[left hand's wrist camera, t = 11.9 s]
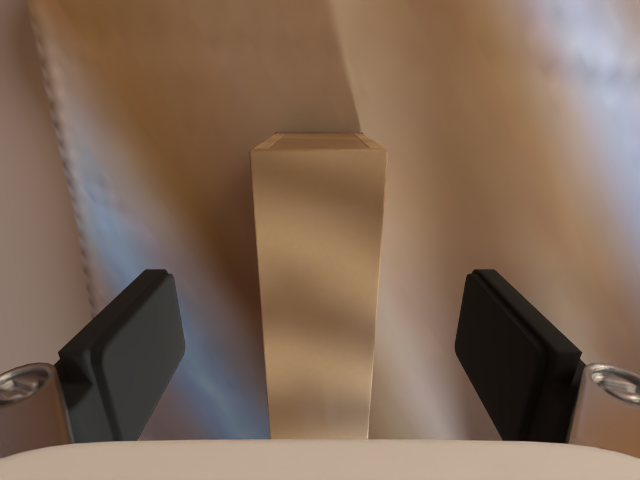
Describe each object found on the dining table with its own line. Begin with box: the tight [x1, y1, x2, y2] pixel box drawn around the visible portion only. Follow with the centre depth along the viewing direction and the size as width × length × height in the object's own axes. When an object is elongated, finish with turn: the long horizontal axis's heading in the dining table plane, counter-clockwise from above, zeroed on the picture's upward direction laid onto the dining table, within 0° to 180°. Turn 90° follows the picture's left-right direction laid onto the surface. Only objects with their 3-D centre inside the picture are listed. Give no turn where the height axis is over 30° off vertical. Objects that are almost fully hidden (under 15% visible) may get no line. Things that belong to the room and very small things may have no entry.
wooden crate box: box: [250, 133, 388, 439], centre depth 25 cm, size 20×7×11 cm, turn 0°
